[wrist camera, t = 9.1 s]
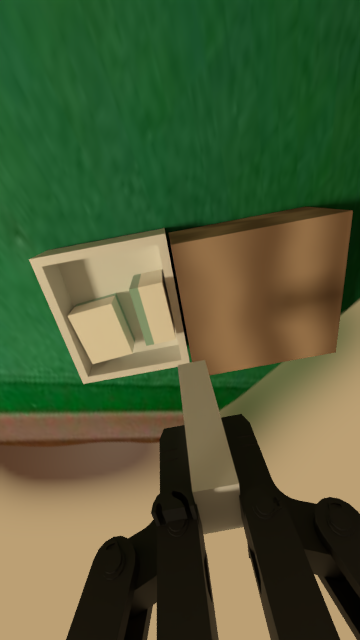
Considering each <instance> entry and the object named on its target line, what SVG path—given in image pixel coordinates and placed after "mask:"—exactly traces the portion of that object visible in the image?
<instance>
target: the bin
mask: <svg viewBox="0 0 360 640" xmlns="http://www.w3.org/2000/svg"><path fill="white" fill-rule="evenodd" d="M29 261H30V263H31V265H32V267H33V270H34V272H35V274H36V277H37V279H38V281H39V283H40V286H41V288H42V290H43V293H44V295H45V297H46V299H47V302H48V304H49V306H50V309H51V311H52V313H53V315H54V318H55V320H56V322H57V325H58V327H59V329H60V331H61V334H62V336H63V338H64V341H65V343H66V345H67V347H68V350H69V352H70V354H71V357H72V359H73V361H74V364H75V366H76V368H77V370H78V373H79V375H80V377H81V380H82V382H83V384H85V383H91V382H96V381H102V380H107V379H113V378H118V377H124V376H129V375H134V374H140V373H145V372H151V371H156V370H162V369H167V368H173V367H178V365H181V364H186V363H190V362H189V356H188V351H187V345H186V340H185V334H184V329H183V324H182V319H181V313H180V308H179V303H178V297H177V292H176V287H175V281H174V276H173V271H172V265H171V260H170V255H169V249H168V244H167V239H166V234H165V228H163V229H157V230H152V231H147V232H141V233H136V234H131V235H126V236H120V237H115V238H110V239H105V240H99V241H94V242H89V243H84V244H78V245H73V246H68V247H63V248H57V249H52V250H47V251H45V252H43V253H41V254H39V255H37V256H35V257H33V258H31V259H29ZM160 269H162V272H163V277H164V281H165V285H166V289H167V293H168V297H169V301H170V306H171V311H172V316H173V321H174V325H175V334H176V340H172V341H167V342H162V343H158V344H153V345H148V346H146V343H145V340H144V337H143V333H142V330H141V327H140V324H139V321H138V317H137V314H136V311H135V308H134V305H133V301H132V298H131V295H130V292H129V288H130V285H131V282H132V279H133V276H134V275H137V274H142V273H146V272H151V271H155V270H160ZM114 293H116V294H117V296H118V299H119V301H120V304H121V306H122V309H123V311H124V313H125V316H126V318H127V321H128V323H129V326H130V328H131V331H132V333H133V335H134V338H135V343H134V348H133V354H129V355H125V356H121V357H118V358H114V359H110V360H107V361H103V362H99V363H95V364H92V362H91V360H90V358H89V356H88V354H87V352H86V350H85V348H84V347H83V345H82V343H81V341H80V339H79V337H78V335H77V333H76V331H75V329H74V327H73V326H72V324H71V322H70V320H69V318H68V315H69V313H70V312H71V311H72V309H73V308H74V307H75V305H76V304H79V303H82V302H86V301H89V300H93V299H96V298H100V297H103V296H107V295H111V294H114Z"/></svg>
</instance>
